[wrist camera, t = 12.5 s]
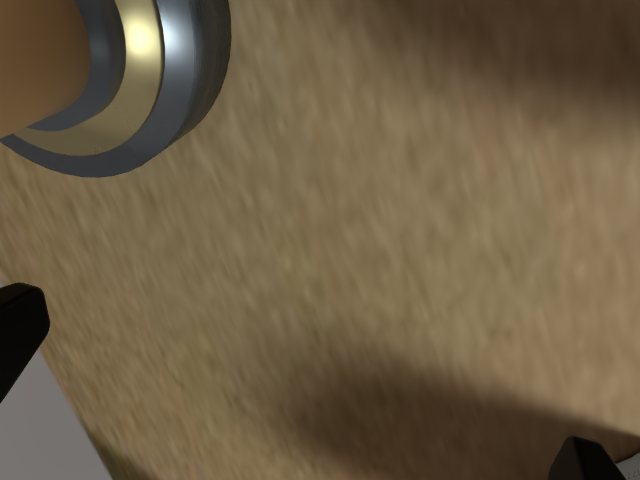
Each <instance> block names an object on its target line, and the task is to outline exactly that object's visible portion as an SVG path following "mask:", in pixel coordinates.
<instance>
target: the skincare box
mask: <svg viewBox="0 0 640 480" xmlns="http://www.w3.org/2000/svg"><path fill="white" fill-rule="evenodd" d="M616 465H617V467H618V468H619V469H620V471H621V472H622V474H623V475H624V476H625V478H626V479H627V480H640V453H637V454H636V455H634V456H633V457H631V458H629V459H627V460H624V461H622V462H619V463H617V464H616Z"/></svg>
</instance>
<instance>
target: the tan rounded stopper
mask: <svg viewBox="0 0 640 480" xmlns="http://www.w3.org/2000/svg"><path fill="white" fill-rule="evenodd" d="M125 66H126V40H125V34H124V28H123V24H122V20H121V17H120V13H119V10H118V7H117V5H116V2H115V0H0V139H1V138H3V137H5V136H8V135H10V134H12V133H14V132H16V131H19V130H21V129H23V128H25V127H27V128H31V129H35V130H40V131H61V130H65V129H69V128H71V127H74V126H76V125H78V124H80V123H82V122H84V121H86V120H88V119H90V118H92V117H94V116H96V115H97V114H99V113H101V112H102V111H103V110H104V109H105V108H106V107H108V106H109V105H110V103H111V102H112V101H113V99H114V98H115V96H116V94H117V93H118V91H119V89H120V86H121V83H122V80H123V77H124V72H125Z"/></svg>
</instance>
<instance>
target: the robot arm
mask: <svg viewBox="0 0 640 480" xmlns="http://www.w3.org/2000/svg"><path fill="white" fill-rule="evenodd" d="M49 328H50V319H49V314H48V310H47V305H46V300H45V296H44V293H43V291H42V290H41V288H39V287H36V286H33V285H29V284H25V283H14V284H11V285H8V286H5V287H2V288H0V403H1V402H2V400H3V399H4V398H5V396H6V395H7V393H8V392H9V391H10V389H11V388H12V386H13V384H14V383H15V381H16V380H17V379H18V377H19V376H20V374H21V373H22V371H23V370H24V368H25V367H26V365H27V364H28V362H29V361H30V360H31V358H32V357H33V355H34V354H35V352H36V351H37V349H38V348H39V346H40V345H41V343H42V342H43V340H44V339H45V337H46V336H47V334H48V331H49ZM548 480H627V479H626V478H625V476H624V475H623V474H622V472H621V471H620V469H619V468H618V467H617V465H616V464H615V462H614V461H613V460H612V458H611V457H610V455H609V454H608V452H607V451H606V450H605V448H604V447H603V446H602V445H601V444H600V443H599V442H598V441H596V440H592V439H589V438H585V437H581V436H578V435H570V436H568V437H567V438H566V440H565V442H564V444H563V445H562V447H561V449H560V451H559V453H558V455H557V457H556V458H555V460H554V462H553V464H552V466H551V468H550V471H549V476H548Z"/></svg>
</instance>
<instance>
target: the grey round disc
mask: <svg viewBox="0 0 640 480" xmlns="http://www.w3.org/2000/svg"><path fill="white" fill-rule="evenodd" d="M115 2H116V5H117V7H118V10H119V13H120V17H121V20H122V24H123V28H124V34H125V40H126V66H125V72H124V77H123V80H122V83H121V86H120V89H119V91H118V93H117V94H116V96H115V98H114V99H113V101H112V102H111V103H110V105H109V106H108V107H106V108H105V109H104V110H103V111H102V112H101V113H99V114H97V115H96V116H94V117H92V118H90V119H88V120H86V121H84V122H82V123H80V124H78V125H76V126H74V127H71V128H69V129H65V130H61V131H40V130H35V129H31V128H27V127H25V128H23V129H21V130H19V131H16V132H14V133H12V134H10V135H8V136H5V137H3V138H1V139H0V142H1V143H3V144H4V145H6V146H7V147H9V148H10V149H12V150H13V151H15V152H16V153H17V154H19V155H21V156H23V157H25V158H27V159H28V160H30V161H32V162H34V163H36V164H39V165H41V166H43V167H46V168H48V169H50V170H54V171H57V172H61V173H64V174H68V175H74V176H80V177H98V178H99V177H107V176H115V175H118V174H122V173H125V172H129V171H131V170H133V169H135V168H137V167H139V166H142V165H143V164H145V163H146V162H147V161H149V160H150V159H152V158H153V157H155V156H156V155H157V154H159V153H160V152H161V151H163V150H164V149H166V148H167V147H168V146H170V145H171V144H173V143H174V142H175V141H177V140H178V139H180V138H181V137H182V136H184V135H185V134H187V133H188V132H189V131H191V130H192V129H193V128H194V127H195V126H196V125H197V124H198V123H199V122H200V121H201V120H202V119H203V118H204V117H205V116H206V114H207V113H208V112H209V110H210V109H211V107H212V106H213V104H214V102H215V100H216V98H217V96H218V95H219V93H220V90H221V88H222V85H223V82H224V79H225V76H226V72H227V68H228V63H229V58H230V47H231V15H230V9H229V2H228V0H115Z"/></svg>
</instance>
